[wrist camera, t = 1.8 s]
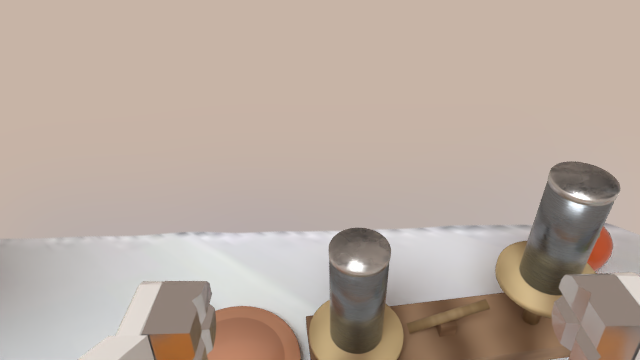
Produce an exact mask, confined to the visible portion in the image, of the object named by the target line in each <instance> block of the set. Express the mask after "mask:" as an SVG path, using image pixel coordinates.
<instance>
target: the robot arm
mask: <svg viewBox="0 0 640 360" xmlns="http://www.w3.org/2000/svg"><path fill="white" fill-rule="evenodd" d="M559 289H560V291H561V292H562V294H563V295H562V296H561V297H560V298H559V299H557V300H556V301H555V302H554V305H553V309H552V313H551V314H552V326H553V329H554V332H555V335H556V337H557V339H558V341H559V343H560V344H562V345H563V346H564V347H566V348H567V349H569V350H570V351H571V353H570V357H569V360H640V276H639V275H637V274H635V273H633V272H628V273H610V274H569V275H565V276H564V277H563V278H562V279H561V282H560V285H559ZM211 295H212V292H211V288H210V283H208V282H207V281H165V282H149V281H143V282H142V283H141V284H140V285H139V286H138V288H137V290H136V292H135V295H134V297H133V299H132V301H131V303H130V305H129V307H128V309H127V312H126V314H125V316H124V318H123V320H122V322H121V324H120V326H119V329H118V331H117V333H116V335H115V336H108V337H107V338H105V339H104V340H103V341H101V342H100V343H99V344H97V345H96V346H95V347H93V348H92V349H91V350H89V351H88V352H87V353H85V354H84V355H83V356H81V357H80V358H79V359H77V360H208V357H207V354H208V353H209V352H210V351H212V350H213V347H214V342H215V336H216V314H215V308H214V307H213V306H211V305H210V304H209V303H210V299H211Z"/></svg>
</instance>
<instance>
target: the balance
mask: <svg viewBox="0 0 640 360" xmlns="http://www.w3.org/2000/svg"><path fill="white" fill-rule="evenodd" d="M526 244H527V241H522V242H517V243H514V244H512V245H509V246H508V247H506V248H505V249H504V250H503V251H502V252H501V253H500V255H499V257H498V261H497V264H496V270H495V272H496V278H497V281H498V283H499V285H500V287H501V288H502V290H503V291H504V292H505V293H498V294H490V295H481V296H473V297H465V298H456V299H448V300H440V301H431V302H423V303H415V304H406V305H398V306H390V307H389V306H388V305H387V304H385V311H384V321H383V332H382V338H381V341H380V343H379V344H378V345H377V347H375V348H374V349H373V350H371V351H369V352H367V353H363V354H352V353H348V352H345V351H343V350H341V349H340V348H339V347H337V346H336V345H335V343H334V342H333V340H332V338H331V335H330V300H329V301H327V302H326V303H324V304H323V305H322V306H321V307H320V308H319V309H318V310H317V311H316V312H315V314H314V316H306V325H307V335H308V342H309V350H310V358H311V360H549V359H557V358H564V357H570V353H571V351H570V350H569V349H567V348H566V347H564V346H563V345H562V344H560V343H559V341H558V339H557V337H556V335H555V332H554V329H553V326H552V314H551V313H552V309H553V305H554V302H555V301H556V300H557V299H559V298H560V297H561V296H562V295H559V296H557V295H549V294H545V293H542V292H540V291H538V290H536V289H534V288H532V287H531V286H530V285H528V284H527V283H526V282H525V281H524V279H523V278H522V276H521V274H520V271H519V266H520V263H521V260H522V257H523V253H524V250H525V247H526ZM582 274H596V273H595V271H594V270H593V269H592V268H591V266H590V265H589V264H588V263H586V265H585V268H584V270H583V272H582Z"/></svg>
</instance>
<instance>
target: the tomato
mask: <svg viewBox="0 0 640 360" xmlns="http://www.w3.org/2000/svg"><path fill="white" fill-rule="evenodd" d="M612 249H613V242H612V239H611V236H610V234H609V232H608V231H607V230H606V229H605V227H604V226H603V228H602V230H601V232H600V234H599V236H598V239H597V241H596V243H595V245H594V248H593V250H592V252H591V254H590V257H589V259H588V261H587V263H588V264H589V265H590V266H591V268H592V269H593V270H594V271H595V272H596V271H597V270H599V269H600V268H601V267H602V266H603V265H604V264H605V263H606V262H607V261H608V260H609V258H610V257H611V253H612Z"/></svg>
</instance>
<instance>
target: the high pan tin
mask: <svg viewBox="0 0 640 360" xmlns="http://www.w3.org/2000/svg"><path fill="white" fill-rule="evenodd" d="M619 192H620V185H619V182H618V181H617V180H616V178H615V177H614V176H613V175H611V174H610V173H608V172H607V171H605V170H603V169H601V168H599V167H597V166H594V165H590V164H587V163H582V162H563V163H559V164H557V165H555V166H554V167H552V168H551V170H550V173H549V176H548V181H547V184H546V187H545V190H544V193H543V196H542V199H541V202H540V205H539V208H538V211H537V214H536V217H535V220H534V223H533V226H532V229H531V232H530V235H529V238H528V241H527V244H526V247H525V250H524V253H523V257H522V260H521V263H520V266H519V271H520V274H521V276H522V278H523V279H524V281H525V282H526V283H527V284H528V285H530V286H531V287H532V288H534V289H536V290H538V291H540V292H542V293H545V294H549V295H557V296H559V295H563V294H562V292H561V291H560V289H559V285H560V282H561V279H562V278H563V277H564V276H565V275H569V274H582V272H583V270H584V268H585V265H586V263H587V261H588V259H589V257H590V254H591V252H592V250H593V248H594V245H595V243H596V241H597V239H598V236H599V234H600V232H601V230H602V228H603V225H604V223H605V221H606V218H607V216H608V214H609V212H610V210H611V208H612V205H613V203H614V201H615V200H616V198H617V196H618V193H619Z"/></svg>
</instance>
